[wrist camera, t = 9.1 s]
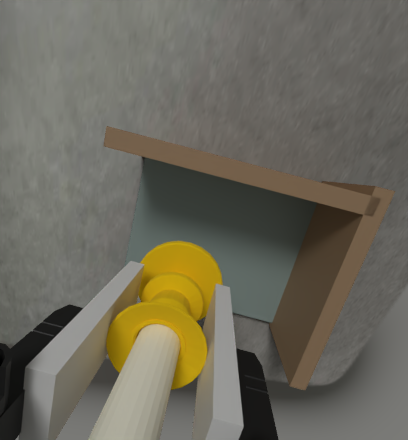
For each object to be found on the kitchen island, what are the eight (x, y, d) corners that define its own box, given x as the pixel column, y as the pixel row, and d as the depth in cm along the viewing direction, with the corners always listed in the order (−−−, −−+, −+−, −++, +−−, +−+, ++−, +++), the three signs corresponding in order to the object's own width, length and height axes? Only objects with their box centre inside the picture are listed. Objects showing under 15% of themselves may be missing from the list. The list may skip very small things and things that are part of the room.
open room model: (117, 283, 24) (76, 329, 17) (145, 134, 20) (108, 115, 13) (279, 326, 24) (305, 390, 17) (335, 184, 20) (395, 191, 13)
